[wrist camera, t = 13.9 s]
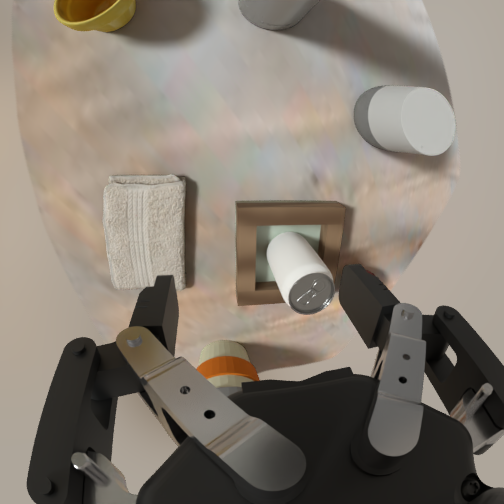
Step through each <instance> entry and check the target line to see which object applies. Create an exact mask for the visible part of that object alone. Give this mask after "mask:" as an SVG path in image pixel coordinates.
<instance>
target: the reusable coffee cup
mask: <svg viewBox="0 0 504 504" xmlns="http://www.w3.org/2000/svg"><path fill="white" fill-rule="evenodd" d="M196 370H197V371H198V372H200V373H201V374H202V375H203V376H204V377H205V378H206V379H207V380H208V381H209V382H210V383H212V384H213V385H214V386H215V387H216V388H217V389H218V390H219V391H221V392H222V393H223V394H224V395H225V396H226V397H227V396H229V395H231V394H233V393H236V392H238V391H242V389H241V382H251V381H260V380H259V377H258V375H257V372H256V370H255V367H254V366H253V365H252V364H251V363H250V360H249V357H248V355H247V352H246V350H245V348H244V347H243V346H242V345H240V344H238V343H236V342H233V341H228V340H222V341H216V342H213V343H210V344H209V345H207V346H206V347H205V348H204V349H203V350H202V352H201V354H200V360H199V365H198V368H197V369H196Z"/></svg>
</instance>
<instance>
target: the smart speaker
mask: <svg viewBox="0 0 504 504" xmlns="http://www.w3.org/2000/svg"><path fill="white" fill-rule="evenodd" d="M354 121H355V125H356V128H357V130H358V132H359V133H360V135H361V136H362V137H363V138H364V139H365V140H366V141H367V142H368V143H370V144H371V145H373V146H375V147H377V148H379V149H383V150H388V151H394V152H403V153H412V154H420V155H428V156H435V155H439V154H442V153H443V152H445V151H446V150H447V149H448V148H449V147H450V145H451V144H452V142H453V139H454V136H455V132H456V120H455V115H454V112H453V109H452V107H451V105H450V104H449V102H448V101H447V99H446V98H445V97H444V96H443V95H442V94H441V93H439V92H438V91H436V90H434V89H431V88H427V87H416V86H394V85H388V86H378V87H374V88H371V89H369V90H367V91H366V92H364V93H363V94H362V95H361V96H360V97H359V99H358V100H357V102H356V105H355V108H354Z"/></svg>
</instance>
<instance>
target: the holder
mask: <svg viewBox="0 0 504 504" xmlns="http://www.w3.org/2000/svg"><path fill="white" fill-rule="evenodd" d="M345 211H346V207H344V206H343V205H341V204H340V203H338V202H337V201H235V230H236V297H237V303H238V306H245V305H261V304H275V303H286V302H285V301H284V299H283V297H282V295H281V292H280V290H279V287H278V285H277V283H276V280H275V278H274V275H273V273H272V270H271V268H270V265H269V263H268V260H267V248H268V245H269V244H270V242H271V241H272V240H273V239H274V238H275V237H276V236H277V235H279V234H281V233H285V232H295V233H298V234H300V235H301V236H303V237H304V238H305V239H306V240H307V242H308V243H309V244H310V245H311V247H312V248H313V249H314V250H315V252H316V253H317V254H318V256H319V257H320V258H321V260H322V261H323V262H324V264H325V265H326V266H327V268H328V269H329V271H330V272H331V274H332V277H333V282H334V284H335V278H336V272H337V266H338V260H339V254H340V247H341V241H342V234H343V226H344V219H345Z"/></svg>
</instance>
